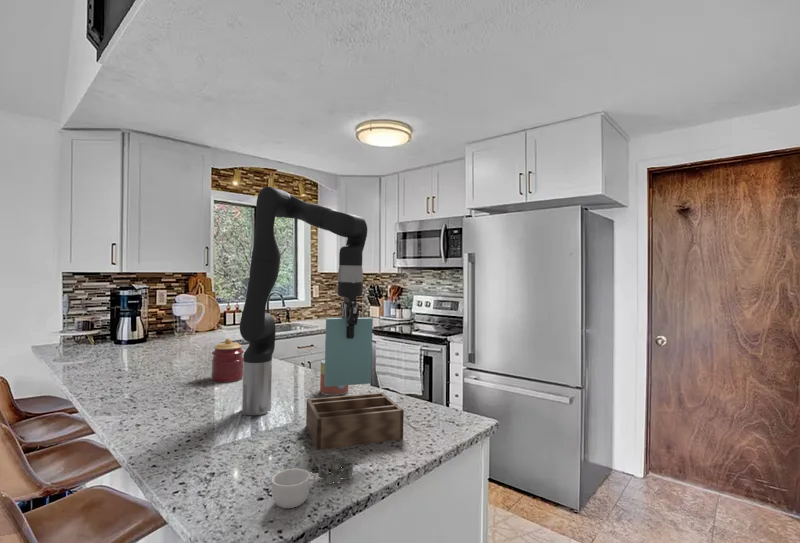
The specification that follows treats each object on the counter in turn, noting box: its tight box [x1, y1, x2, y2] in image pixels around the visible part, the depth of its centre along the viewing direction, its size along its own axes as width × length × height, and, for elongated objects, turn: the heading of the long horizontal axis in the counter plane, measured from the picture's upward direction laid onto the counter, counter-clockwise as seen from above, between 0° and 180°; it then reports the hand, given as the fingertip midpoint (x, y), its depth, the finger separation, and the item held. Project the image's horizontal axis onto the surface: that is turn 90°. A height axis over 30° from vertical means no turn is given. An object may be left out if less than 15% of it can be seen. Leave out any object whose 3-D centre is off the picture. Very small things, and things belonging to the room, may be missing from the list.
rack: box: [305, 392, 405, 451], centre depth 123 cm, size 24×18×10 cm
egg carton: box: [308, 451, 356, 484], centre depth 101 cm, size 11×8×4 cm
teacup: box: [271, 467, 317, 509], centre depth 89 cm, size 10×8×5 cm
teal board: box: [324, 317, 374, 387], centre depth 129 cm, size 14×2×20 cm, turn 111°
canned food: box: [319, 358, 349, 396], centre depth 170 cm, size 11×11×12 cm
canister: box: [210, 338, 245, 383], centre depth 185 cm, size 13×13×18 cm
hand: (349, 337), depth 129 cm, fingers closed on teal board, 2 cm apart
